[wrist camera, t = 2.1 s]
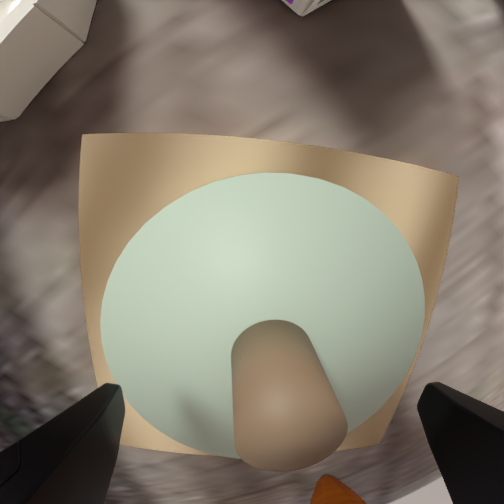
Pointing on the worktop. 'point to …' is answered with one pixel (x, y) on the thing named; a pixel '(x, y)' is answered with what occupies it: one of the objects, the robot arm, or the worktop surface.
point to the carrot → (334, 492)
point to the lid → (263, 318)
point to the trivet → (224, 166)
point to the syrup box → (304, 5)
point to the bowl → (37, 46)
